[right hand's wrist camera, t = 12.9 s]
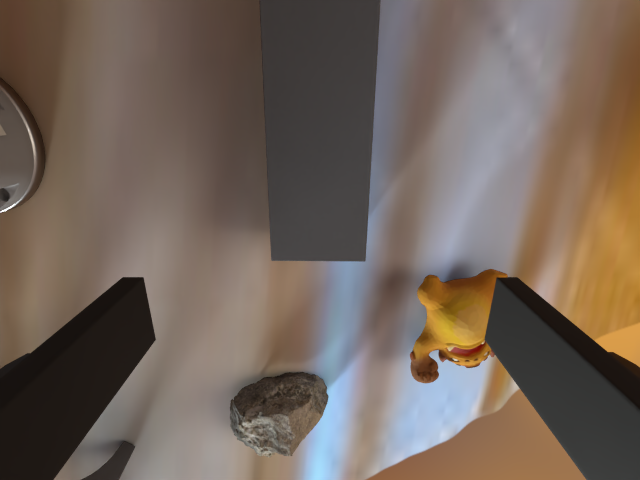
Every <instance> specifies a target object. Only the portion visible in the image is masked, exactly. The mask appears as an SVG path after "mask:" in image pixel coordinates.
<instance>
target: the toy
mask: <svg viewBox="0 0 640 480" xmlns="http://www.w3.org/2000/svg"><path fill="white" fill-rule="evenodd" d="M497 277H508V275H507V274H505V273H502V272H499V271H496V270H493V269H489V270H485V271H483V272H481V273H480V274H478V275H477V276H475V277H471V278H464V279H455V280H450V281H447V282H444V283H443V282H441V281H440V279H439V278H438V277H437V276H434V275H428V276H427V277H425V279H424V281H423V283H422V284H421V285H420V287H419V288H418V291H417V294H418V298H419V300H420V302H421V303H422V304H423V305H424V306H425V307H426V310H427V321H426V325H425V328H424V330H423V332H422V334H421V336H420V337H419V338H418V339H417V340H416V342H415V345H414V348H413V351H412V352H411V354H410V358H411V360H412V361H411V373H412V376H413V377H414V379H415V380H417V381H418V382H422V383H431V382H433V381H435V380H436V379H437V378H438V376H439V373H438V371H437V370H438V364H437V362H436V361H435V360H434V359H432V358H431V357H430V356H429V353H430V352H431V351H434V350H439V358H440V360H441V361H442V362H444V361H445V360H446V359H447V360H449V361H451V362H453V363H455V364H457V365H460V366H461V365H462V366H465V367H466V368H473V367H477V366H479V365H480V363H481V362H482V361H483V360H484V361H485V360H486V359H487V358H488V355H491V357H494V355H495V354H494V352H493V351H492V349H491V348H490V347H489V345H488V344H487V343H486V341H485V340H484V339H485V334H486V329H487V323H488V318H489V313H490V308H491V303H492V298H493V293H494V288H495V283H496V278H497Z"/></svg>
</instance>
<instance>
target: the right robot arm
mask: <svg viewBox="0 0 640 480" xmlns="http://www.w3.org/2000/svg"><path fill="white" fill-rule="evenodd" d="M44 168H45V151H44V145H43V140H42V137H41V133H40V130H39V128H38V125H37V123H36V121H35V119H34V117H33V115H32V114H31V112H30V110H29V109H28V107H27V106H26V104H25V103H24V101H23V100H22V99H21V98H20V97H19V95H18V94H17V93H16V92H15V91H14V90H13V89H12V88H11V87H10V86H9V85H8V84H7V83H6V82H5V81H4V80H3V79H1V78H0V212H4V211H7V210H10V209H13V208H15V207H18V206H19V205H21V204H23V203H24V202H26V201H27V200H28V199H29V198H30V197H31V196H32V195H33V194H34V193H35V192H36V190H37V188H38V187H39V185H40V183H41V180H42V177H43V173H44ZM155 340H156V339H155V334H154V329H153V324H152V318H151V313H150V308H149V303H148V298H147V293H146V288H145V283H144V278H143V277H123V278H121V279H120V280H119V281H118V282H117V283H115V284H114V285H113V286H112V287H111V288H109V289H108V290H107V291H106V292H104V293H103V294H102V295H101V296H100V297H98V298H97V299H96V300H95V301H94V302H92V303H91V304H90V305H89V306H88V307H86V308H85V309H84V310H83V311H81V312H80V313H79V314H78V315H77V316H75V317H74V318H73V319H72V320H71V321H69V322H68V323H67V324H66V325H65V326H63V327H62V328H61V329H60V330H58V331H57V332H56V333H55V334H54V335H52V336H51V337H50V338H49V339H48V340H46V341H45V342H44V343H43V344H41V345H40V346H39V347H38V348H37V349H35V350H34V351H33V352H32V353H27V354H25V355H24V356H22V357H20V358H18V359H16V360H14V361H13V362H11V363H9V364H7V365H5V366H4V367H2V368H1V369H0V480H53V479H54V478H55V477H56V475H57V474H58V473H59V471H60V470H61V469H62V467H63V466H64V464H65V463H66V462H67V460H68V459H69V458H70V456H71V455H72V453H73V452H74V451H75V449H76V448H77V447H78V445H79V444H80V443H81V441H82V440H83V438H84V437H85V436H86V434H87V433H88V432H89V430H90V429H91V427H92V426H93V425H94V423H95V422H96V421H97V419H98V418H99V417H100V415H101V414H102V412H103V411H104V410H105V408H106V407H107V406H108V404H109V403H110V401H111V400H112V399H113V397H114V396H115V395H116V393H117V392H118V391H119V389H120V388H121V386H122V385H123V384H124V382H125V381H126V380H127V378H128V377H129V375H130V374H131V373H132V371H133V370H134V369H135V367H136V366H137V365H138V363H139V362H140V360H141V359H142V358H143V356H144V355H145V354H146V352H147V351H148V349H149V348H150V347H151V345H152V344H153V343H154V341H155ZM484 340H485V341H486V343H487V344H488V345H489V347H490V348H491V349H492V351H493V352H494V354H495V355H496V356H497V358H498V359H499V360H500V362H501V363H502V365H503V366H504V367H505V369H506V370H507V371H508V373H509V374H510V375H511V377H512V378H513V380H514V381H515V382H516V384H517V385H518V386H519V388H520V389H521V390H522V392H523V393H524V395H525V396H526V397H527V399H528V400H529V401H530V403H531V404H532V406H533V407H534V408H535V410H536V411H537V412H538V414H539V415H540V417H541V418H542V419H543V421H544V422H545V423H546V425H547V426H548V427H549V429H550V430H551V431H552V433H553V434H554V436H555V437H556V438H557V440H558V441H559V443H560V444H561V445H562V447H563V448H564V449H565V451H566V452H567V453H568V455H569V456H570V457H571V459H572V460H573V462H574V463H575V464H576V466H577V467H578V469H579V470H580V471H581V473H582V474H583V475H584V477H585V478H586V479H587V480H640V367H638V366H637V365H636V364H634V363H632V362H630V361H628V360H627V359H625V358H623V357H621V356H619V355H617V354H615V353H614V352H607V351H606V350H605V349H603V348H602V347H601V346H600V345H599V344H597V343H596V342H595V341H594V340H592V339H591V338H590V337H589V336H588V335H586V334H585V333H584V332H583V331H582V330H580V329H579V328H578V327H577V326H575V325H574V324H573V323H572V322H571V321H569V320H568V319H567V318H566V317H565V316H563V315H562V314H561V313H560V312H559V311H557V310H556V309H555V308H554V307H552V306H551V305H550V304H549V303H548V302H546V301H545V300H544V299H543V298H542V297H540V296H539V295H538V294H537V293H536V292H534V291H533V290H532V289H531V288H529V287H528V286H527V285H526V284H525V283H523V282H522V281H521V280H520V279H519V278H517V277H497V278H496V283H495V288H494V293H493V298H492V303H491V308H490V313H489V318H488V323H487V329H486V334H485V339H484Z"/></svg>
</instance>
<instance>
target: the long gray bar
mask: <svg viewBox="0 0 640 480" xmlns="http://www.w3.org/2000/svg"><path fill="white" fill-rule="evenodd" d="M379 15H380V0H260V21H261V43H262V65H263V86H264V108H265V130H266V152H267V174H268V196H269V218H270V240H271V260H272V261H365V258H366V241H367V223H368V206H369V189H370V171H371V154H372V137H373V119H374V102H375V85H376V67H377V50H378V33H379Z"/></svg>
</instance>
